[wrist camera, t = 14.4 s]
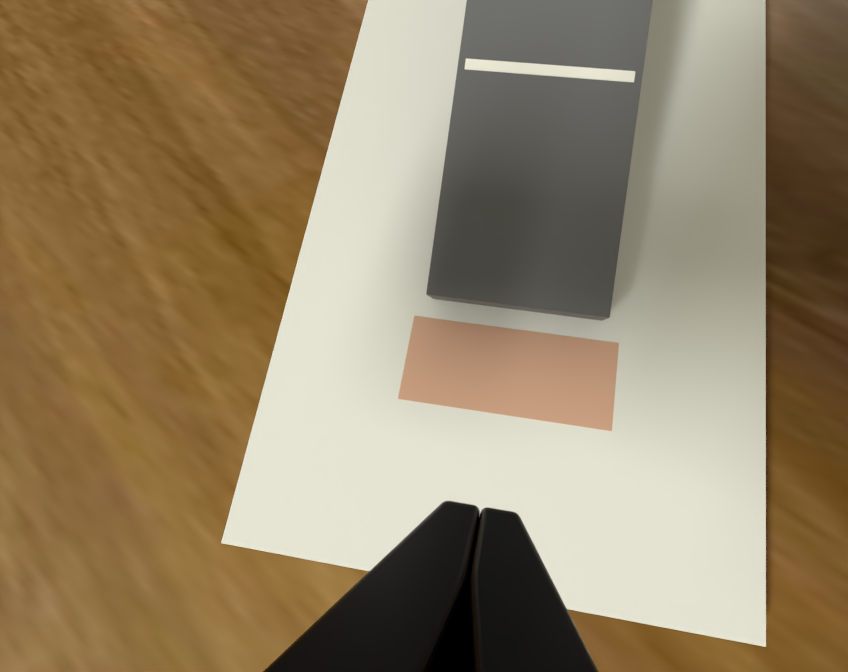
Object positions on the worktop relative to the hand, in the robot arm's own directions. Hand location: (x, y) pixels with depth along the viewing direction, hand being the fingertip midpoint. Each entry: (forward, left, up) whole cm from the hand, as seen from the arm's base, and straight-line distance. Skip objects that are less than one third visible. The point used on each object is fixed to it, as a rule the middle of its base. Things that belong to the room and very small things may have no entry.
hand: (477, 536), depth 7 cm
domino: (+6, -4, -10) cm, 12 cm away
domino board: (+14, -8, -11) cm, 19 cm away
